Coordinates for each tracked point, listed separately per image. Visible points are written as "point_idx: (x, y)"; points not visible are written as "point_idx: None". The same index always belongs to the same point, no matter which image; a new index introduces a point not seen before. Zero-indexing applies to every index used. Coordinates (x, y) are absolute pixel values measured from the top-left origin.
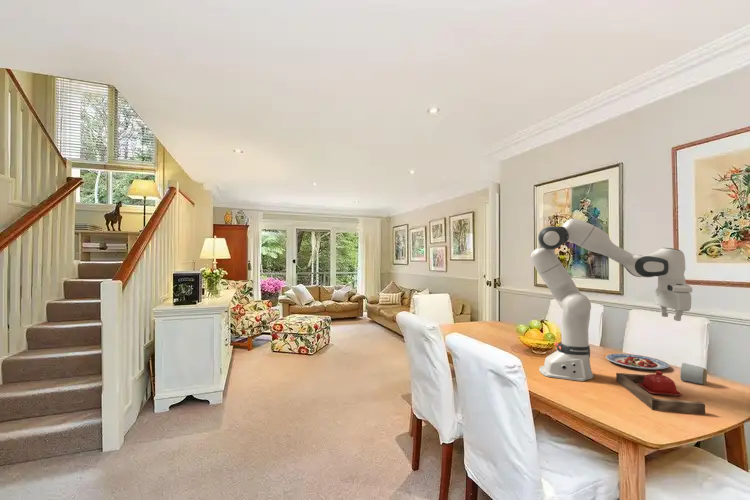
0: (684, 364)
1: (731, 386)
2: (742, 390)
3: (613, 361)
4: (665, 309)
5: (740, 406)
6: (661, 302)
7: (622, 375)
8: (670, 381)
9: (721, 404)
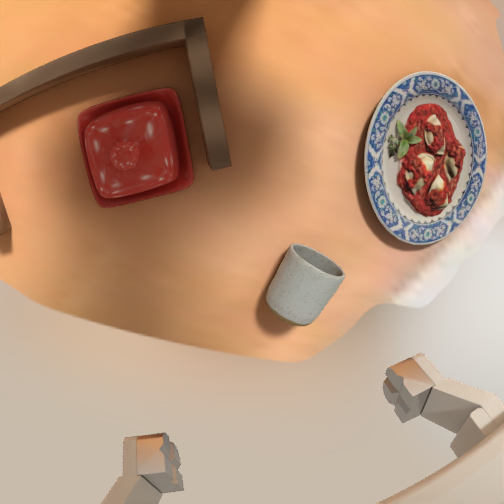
0: (316, 278)
1: (287, 344)
2: (261, 357)
3: (409, 76)
4: (453, 426)
5: (113, 323)
6: (483, 499)
7: (172, 33)
8: (96, 185)
9: (101, 288)
